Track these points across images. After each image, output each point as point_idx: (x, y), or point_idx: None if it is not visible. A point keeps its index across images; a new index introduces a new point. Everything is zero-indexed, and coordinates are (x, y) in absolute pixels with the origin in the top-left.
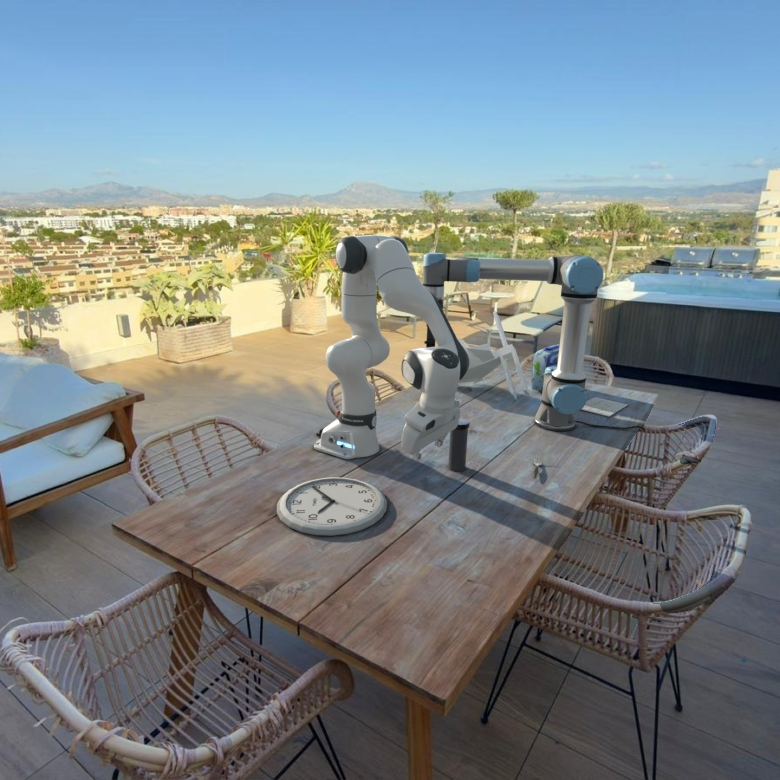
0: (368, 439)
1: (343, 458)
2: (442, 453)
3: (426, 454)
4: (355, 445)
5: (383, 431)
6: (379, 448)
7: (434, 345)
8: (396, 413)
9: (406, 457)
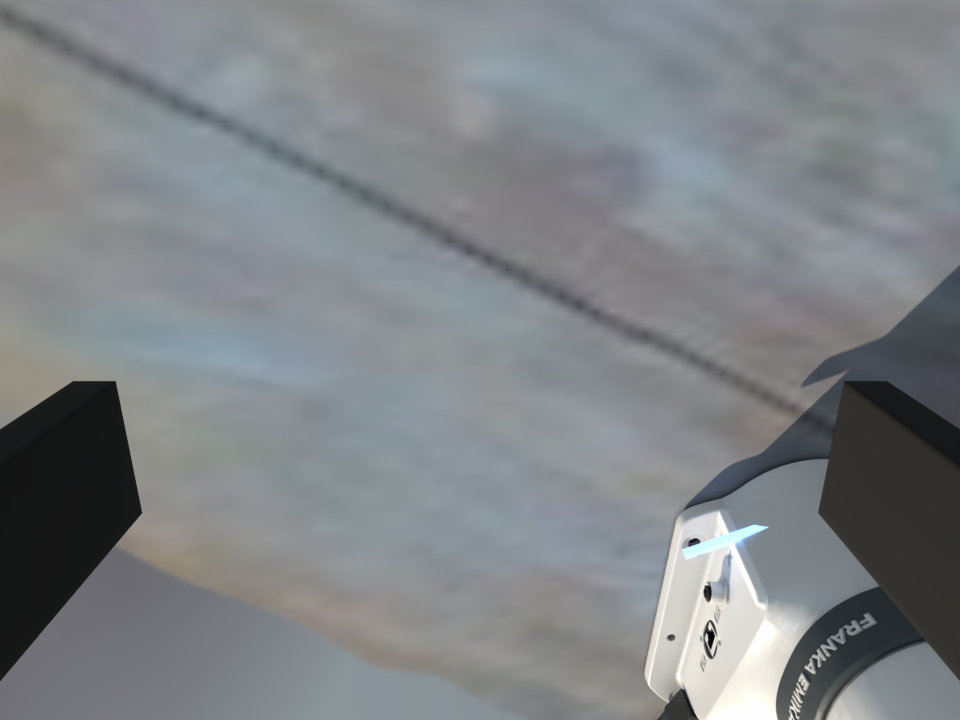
0: None
1: None
2: (873, 104)
3: (883, 204)
4: None
5: (553, 468)
6: (814, 460)
7: (6, 479)
8: (238, 431)
9: (918, 313)
